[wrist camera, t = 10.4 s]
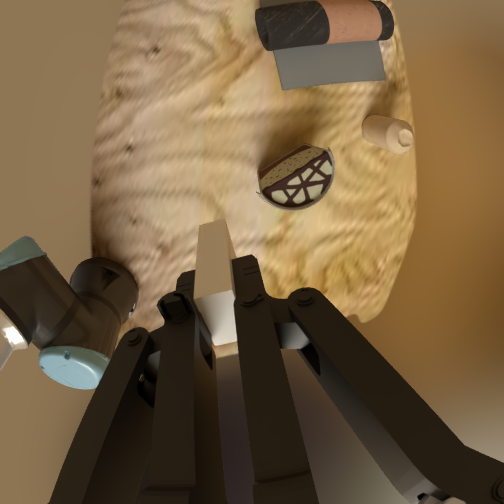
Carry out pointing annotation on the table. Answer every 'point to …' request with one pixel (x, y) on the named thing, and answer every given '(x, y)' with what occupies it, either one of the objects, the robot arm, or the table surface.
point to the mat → (327, 61)
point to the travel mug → (323, 23)
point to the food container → (297, 178)
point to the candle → (388, 133)
